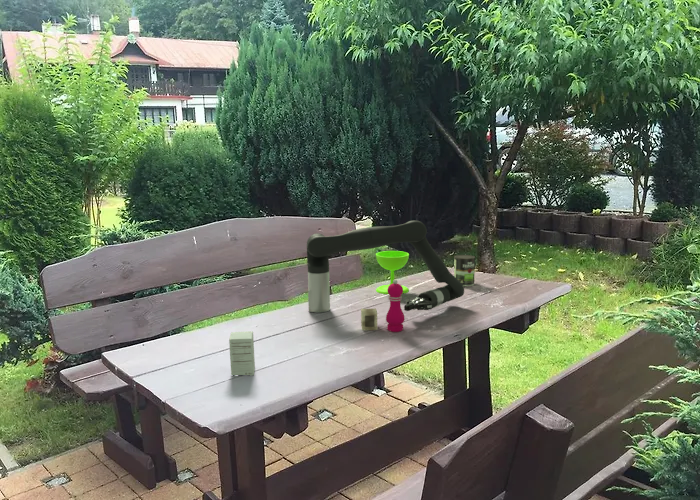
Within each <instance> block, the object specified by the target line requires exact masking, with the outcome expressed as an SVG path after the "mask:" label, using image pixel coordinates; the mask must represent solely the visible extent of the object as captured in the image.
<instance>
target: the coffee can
mask: <svg viewBox="0 0 700 500" xmlns="http://www.w3.org/2000/svg"><path fill="white" fill-rule="evenodd" d="M453 258H454V263H453V267H454V268H453V269H454V271H453V276H454V277H455V278H456V279H458V280H459V281H460V282H461V284H462V285H463V287H473V286H475V270H476V269H475V268H476V267H475V266H476V256H475V255H472V254H456V255H454V257H453Z"/></svg>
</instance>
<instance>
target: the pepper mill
mask: <svg viewBox="0 0 700 500" xmlns="http://www.w3.org/2000/svg"><path fill="white" fill-rule="evenodd" d="M388 285H389V284H388ZM402 286H403V285H402ZM402 286H401V284H400V283H398V279H394V281H393V284H391V285H389V287H388V290H387V291H388V294H389V295H388V300H389V304H390V305H389V308H388V310H387V313H386V316H385V321H386V323H387V325H386V328H387V329H386V330H387V331H388V332H392V333H399V332H402V331H403V330H404V324H403V323H404V322H405V319H406V318H405V314H404V312H403V310H402V307H401V301H402V297H403V296H402V295H403V294H402V293H403V288H402Z"/></svg>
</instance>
